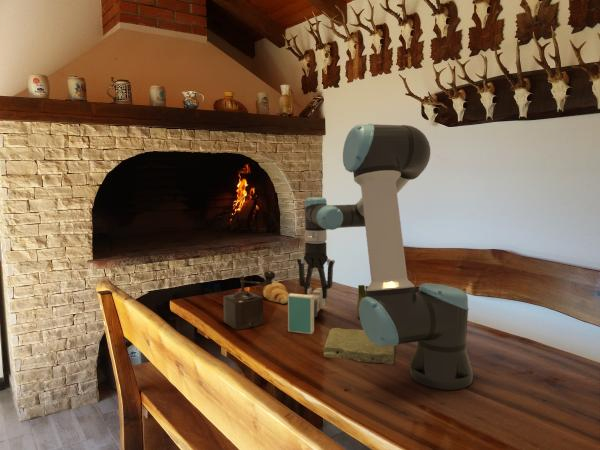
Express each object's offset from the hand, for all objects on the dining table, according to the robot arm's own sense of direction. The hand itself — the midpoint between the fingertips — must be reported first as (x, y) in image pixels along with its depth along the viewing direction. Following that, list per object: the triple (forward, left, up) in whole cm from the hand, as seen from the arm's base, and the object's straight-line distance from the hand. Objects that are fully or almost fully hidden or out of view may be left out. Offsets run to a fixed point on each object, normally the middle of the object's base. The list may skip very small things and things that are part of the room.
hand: (315, 306), depth 162 cm
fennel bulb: (+3, -17, -4) cm, 18 cm away
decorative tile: (-24, -21, -4) cm, 32 cm away
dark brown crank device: (-13, +20, -4) cm, 24 cm away
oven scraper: (0, 0, 0) cm, 0 cm away
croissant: (+16, +23, -4) cm, 28 cm away
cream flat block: (-16, 0, -4) cm, 16 cm away
